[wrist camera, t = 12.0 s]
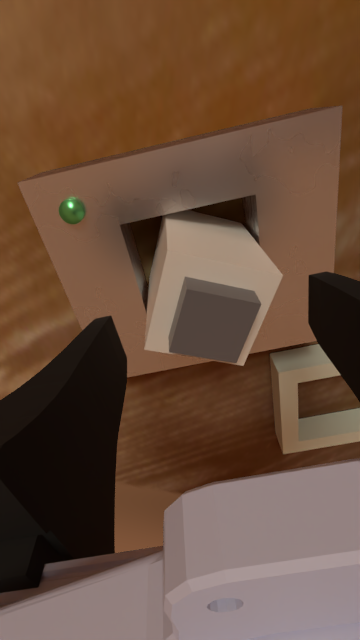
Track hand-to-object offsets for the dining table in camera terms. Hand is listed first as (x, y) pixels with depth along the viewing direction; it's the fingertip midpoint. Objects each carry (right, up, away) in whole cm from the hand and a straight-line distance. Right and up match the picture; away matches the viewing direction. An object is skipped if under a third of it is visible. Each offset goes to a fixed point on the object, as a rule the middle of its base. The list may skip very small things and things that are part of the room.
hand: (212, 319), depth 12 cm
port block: (0, +4, +6) cm, 7 cm away
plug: (0, +4, +6) cm, 7 cm away
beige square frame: (+10, -5, +12) cm, 16 cm away
